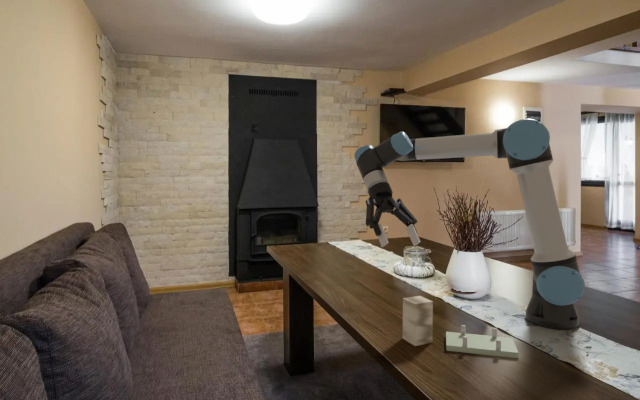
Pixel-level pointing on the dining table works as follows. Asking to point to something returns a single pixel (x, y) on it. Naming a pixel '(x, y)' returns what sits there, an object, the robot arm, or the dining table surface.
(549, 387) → the dining table surface
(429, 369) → the dining table surface
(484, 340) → the peg board
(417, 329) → the tan block
